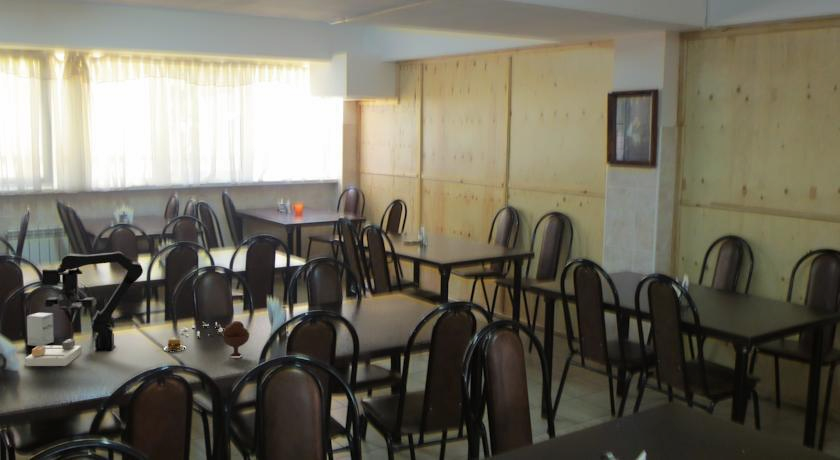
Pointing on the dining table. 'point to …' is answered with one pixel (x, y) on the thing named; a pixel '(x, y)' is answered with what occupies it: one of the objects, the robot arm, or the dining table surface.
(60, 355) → the fader panel
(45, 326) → the supplement box
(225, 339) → the ice cream bowl
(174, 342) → the cake on plate
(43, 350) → the fader orange
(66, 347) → the block
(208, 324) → the game piece set
